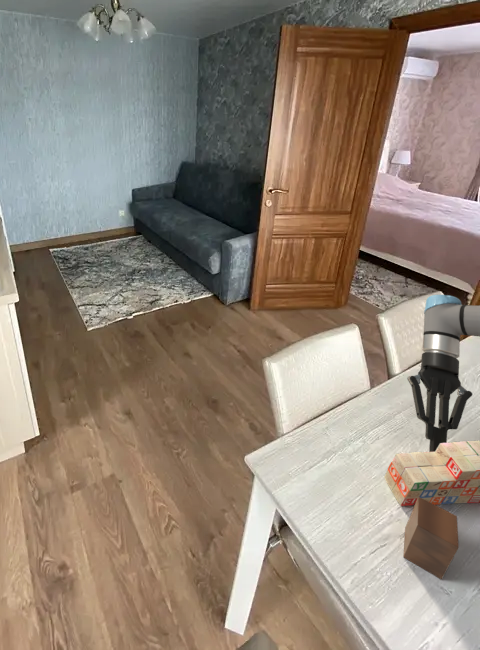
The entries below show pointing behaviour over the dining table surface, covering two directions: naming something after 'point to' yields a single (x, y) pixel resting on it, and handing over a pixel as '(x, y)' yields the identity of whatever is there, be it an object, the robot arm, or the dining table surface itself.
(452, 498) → the stack of blocks
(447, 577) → the dining table surface
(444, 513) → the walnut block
